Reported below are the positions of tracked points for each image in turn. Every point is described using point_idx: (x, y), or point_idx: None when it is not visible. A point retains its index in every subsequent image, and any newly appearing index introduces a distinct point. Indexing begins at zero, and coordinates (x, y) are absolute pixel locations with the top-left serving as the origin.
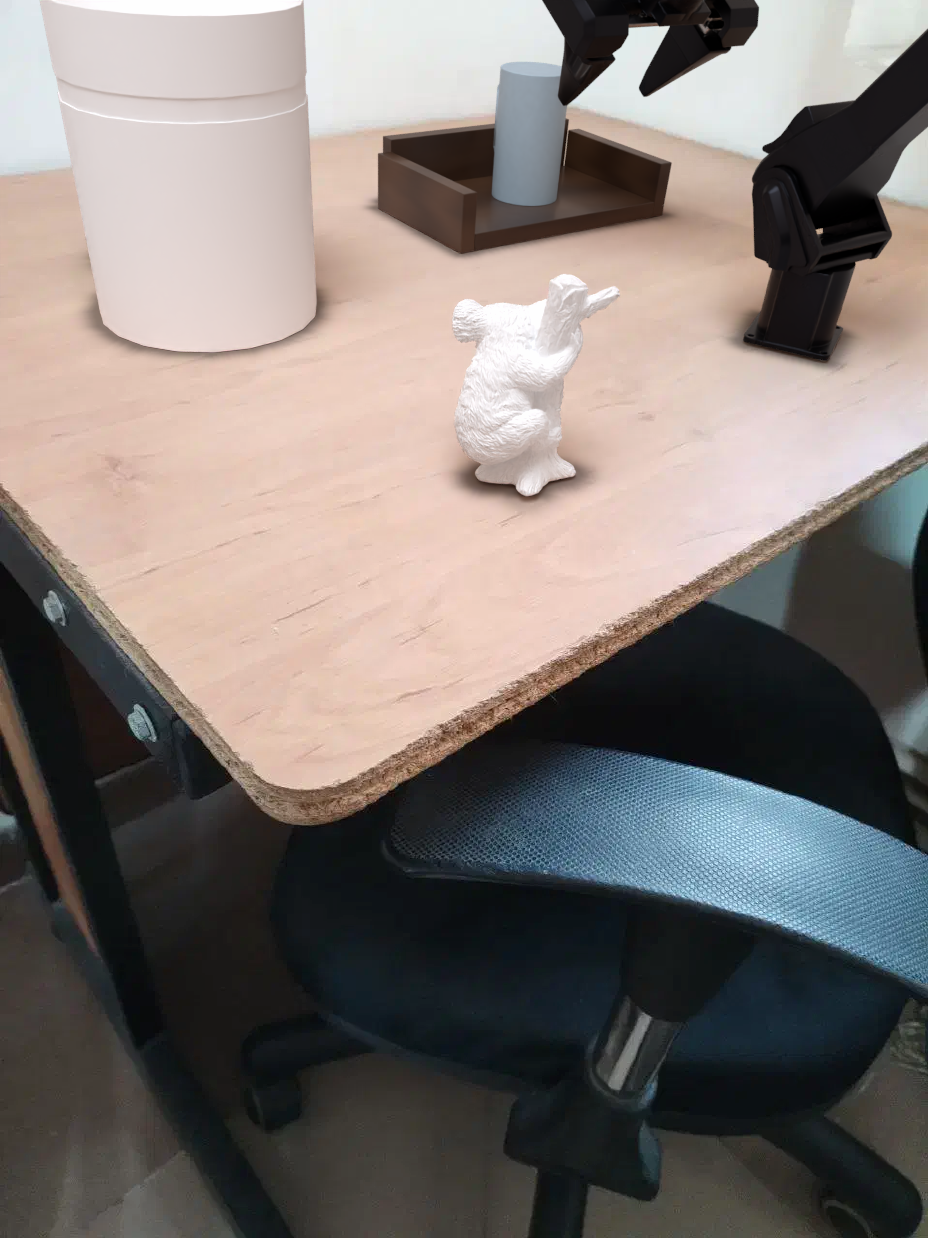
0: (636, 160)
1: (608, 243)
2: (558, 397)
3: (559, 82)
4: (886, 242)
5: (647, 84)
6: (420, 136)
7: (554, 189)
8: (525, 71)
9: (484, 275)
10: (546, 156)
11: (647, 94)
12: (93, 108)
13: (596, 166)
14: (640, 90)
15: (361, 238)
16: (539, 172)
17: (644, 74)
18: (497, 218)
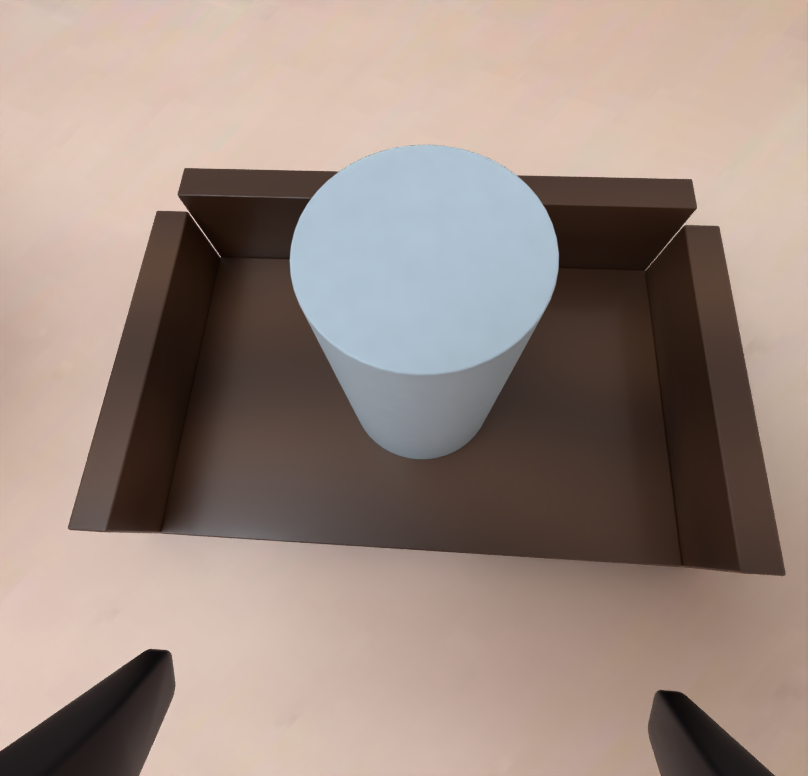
0: (715, 474)
1: (449, 646)
2: None
3: (81, 695)
4: None
5: (678, 772)
6: (251, 197)
7: (447, 450)
8: (346, 272)
9: (92, 654)
10: (407, 437)
11: (658, 762)
12: None
13: (669, 354)
14: (653, 707)
15: (72, 378)
16: (394, 441)
17: (697, 750)
18: (268, 478)
